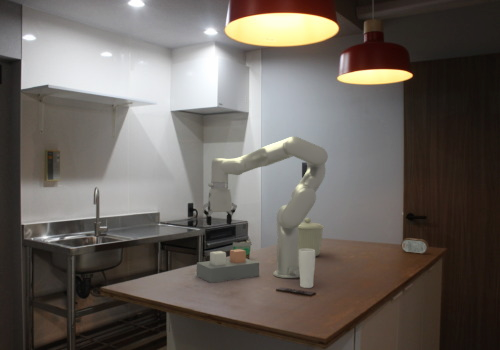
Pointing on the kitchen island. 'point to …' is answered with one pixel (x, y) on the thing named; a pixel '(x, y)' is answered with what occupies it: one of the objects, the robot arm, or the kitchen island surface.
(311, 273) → the drinking glass
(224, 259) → the cream cube block
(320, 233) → the canister
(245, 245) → the food container
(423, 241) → the tin
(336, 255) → the kitchen island surface
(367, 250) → the kitchen island surface
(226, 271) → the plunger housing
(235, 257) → the terracotta brown block
